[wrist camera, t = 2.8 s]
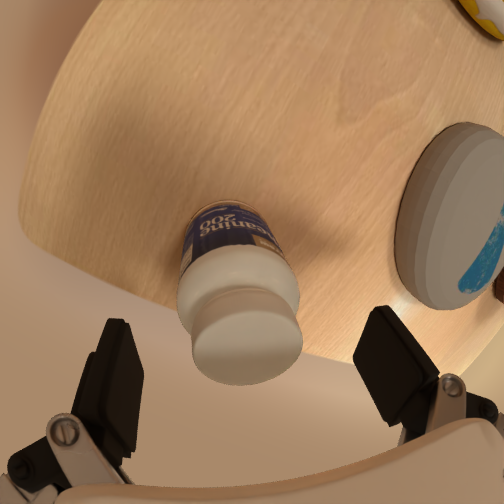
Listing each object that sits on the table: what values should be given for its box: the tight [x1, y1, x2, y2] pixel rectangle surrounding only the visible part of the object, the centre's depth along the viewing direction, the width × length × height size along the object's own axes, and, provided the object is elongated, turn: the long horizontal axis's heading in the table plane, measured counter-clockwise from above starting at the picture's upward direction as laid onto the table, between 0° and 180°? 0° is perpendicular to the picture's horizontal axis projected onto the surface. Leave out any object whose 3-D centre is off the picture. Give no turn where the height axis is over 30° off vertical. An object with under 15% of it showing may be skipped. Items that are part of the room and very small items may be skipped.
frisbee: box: [395, 122, 504, 310], centre depth 18 cm, size 18×18×5 cm
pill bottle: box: [177, 200, 303, 386], centre depth 13 cm, size 5×5×10 cm
